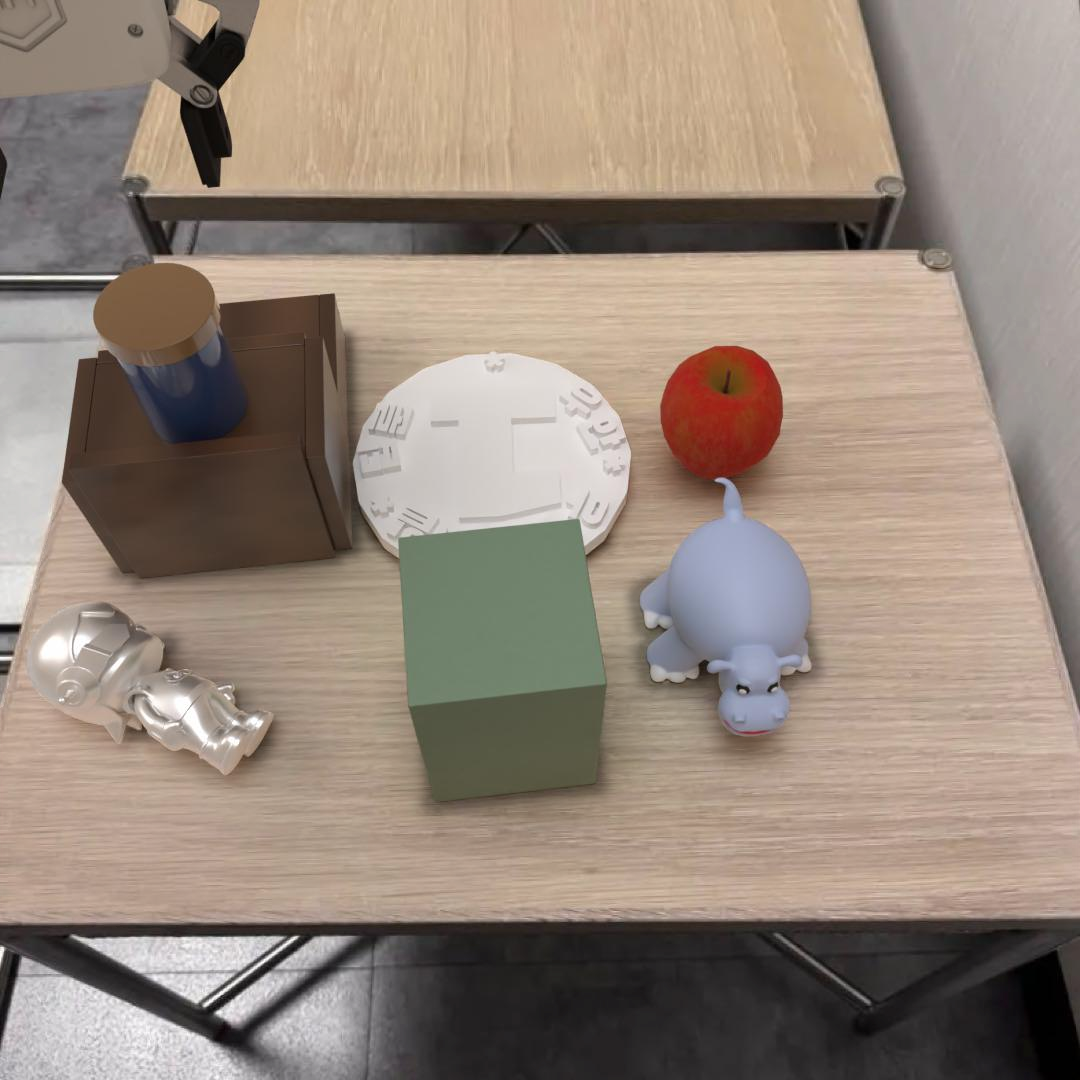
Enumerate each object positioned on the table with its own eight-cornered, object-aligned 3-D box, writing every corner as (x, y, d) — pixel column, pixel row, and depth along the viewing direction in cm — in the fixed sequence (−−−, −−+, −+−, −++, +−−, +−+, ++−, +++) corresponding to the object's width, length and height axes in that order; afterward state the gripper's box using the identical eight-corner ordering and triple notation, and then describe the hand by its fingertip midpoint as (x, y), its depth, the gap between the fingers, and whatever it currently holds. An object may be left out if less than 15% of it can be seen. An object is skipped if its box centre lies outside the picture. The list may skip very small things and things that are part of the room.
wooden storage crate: (121, 580, 74) (47, 471, 63) (142, 356, 85) (82, 230, 74) (352, 556, 75) (319, 444, 64) (345, 337, 86) (315, 210, 75)
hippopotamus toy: (660, 763, 67) (676, 703, 59) (632, 558, 75) (643, 480, 67) (830, 751, 67) (869, 690, 59) (785, 548, 75) (814, 470, 67)
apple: (681, 404, 82) (698, 303, 73) (785, 445, 80) (816, 346, 71) (633, 485, 78) (644, 389, 69) (741, 531, 76) (768, 438, 67)
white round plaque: (658, 407, 82) (662, 382, 80) (586, 626, 72) (588, 605, 70) (414, 348, 85) (410, 322, 83) (314, 550, 75) (306, 528, 73)
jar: (139, 453, 66) (86, 355, 59) (147, 370, 70) (98, 267, 62) (250, 442, 67) (212, 344, 59) (252, 360, 70) (216, 257, 63)
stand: (434, 803, 66) (408, 706, 53) (424, 656, 71) (397, 537, 58) (595, 783, 66) (607, 683, 54) (573, 639, 72) (579, 518, 59)
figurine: (225, 739, 60) (3, 604, 61) (179, 840, 62) (-35, 708, 63) (306, 674, 70) (114, 560, 71) (264, 763, 72) (78, 650, 73)
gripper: (-406, -194, 31) (-108, 252, 46) (192, -230, 33) (299, 216, 47) (-329, -301, 35) (-77, 141, 50) (201, -329, 37) (297, 110, 51)
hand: (105, 177), depth 48 cm, fingers open, 9 cm apart
